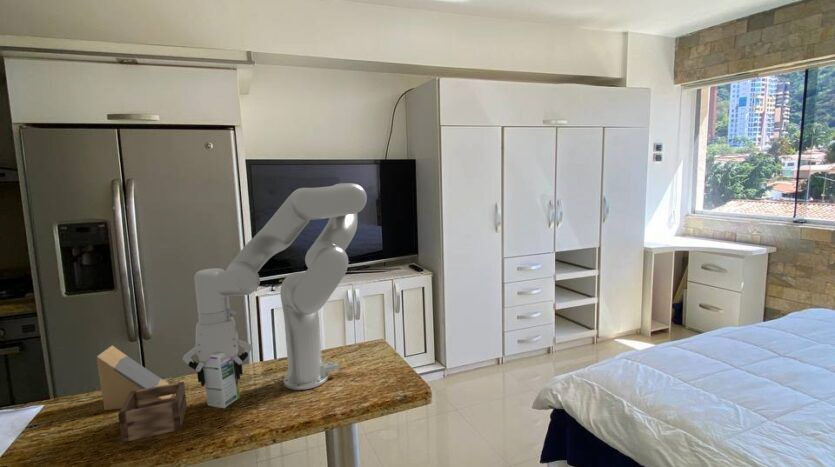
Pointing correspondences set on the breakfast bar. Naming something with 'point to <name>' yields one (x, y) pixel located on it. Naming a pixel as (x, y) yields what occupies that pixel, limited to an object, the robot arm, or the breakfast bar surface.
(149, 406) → the crate
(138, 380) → the sandwich container
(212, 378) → the syrup box
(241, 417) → the breakfast bar surface
